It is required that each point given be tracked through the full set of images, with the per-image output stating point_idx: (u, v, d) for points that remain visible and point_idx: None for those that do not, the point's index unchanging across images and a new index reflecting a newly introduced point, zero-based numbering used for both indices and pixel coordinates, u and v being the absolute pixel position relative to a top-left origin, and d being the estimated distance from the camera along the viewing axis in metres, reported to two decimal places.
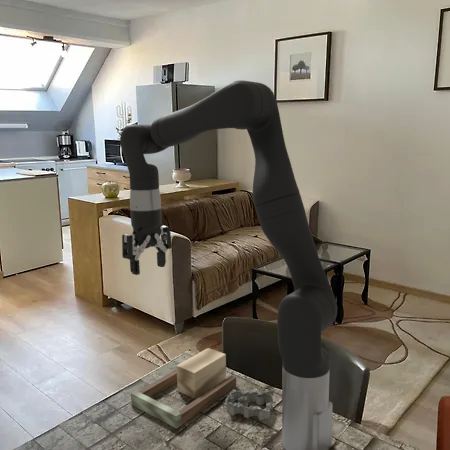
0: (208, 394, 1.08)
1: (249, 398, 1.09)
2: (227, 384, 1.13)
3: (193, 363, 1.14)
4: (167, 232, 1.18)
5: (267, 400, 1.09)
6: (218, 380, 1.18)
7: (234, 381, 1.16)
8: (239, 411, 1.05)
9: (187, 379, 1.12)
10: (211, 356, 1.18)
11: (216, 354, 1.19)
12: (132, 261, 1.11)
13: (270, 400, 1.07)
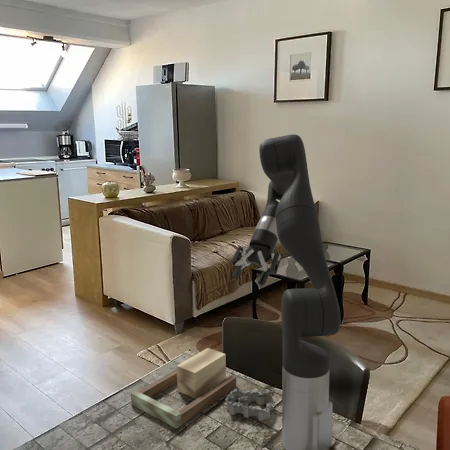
0: (208, 394, 1.08)
1: (250, 398, 1.09)
2: (227, 384, 1.13)
3: (193, 363, 1.14)
4: (274, 256, 1.30)
5: (268, 400, 1.09)
6: (218, 380, 1.18)
7: (234, 381, 1.16)
8: (239, 411, 1.05)
9: (188, 379, 1.12)
10: (210, 356, 1.18)
11: (216, 354, 1.19)
12: None
13: (271, 401, 1.07)
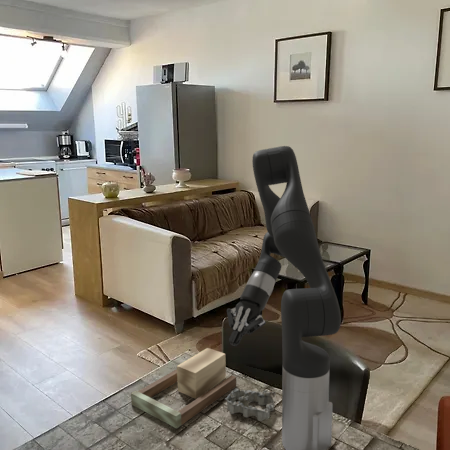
0: (208, 394, 1.08)
1: (251, 398, 1.09)
2: (227, 384, 1.13)
3: (193, 363, 1.14)
4: (257, 319, 1.26)
5: (269, 401, 1.08)
6: (218, 380, 1.18)
7: (234, 381, 1.16)
8: (239, 410, 1.05)
9: (188, 379, 1.12)
10: (210, 356, 1.18)
11: (216, 354, 1.19)
12: None
13: (271, 401, 1.07)
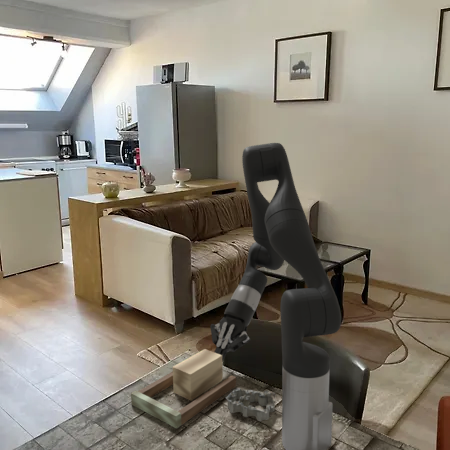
0: (208, 394, 1.08)
1: (252, 398, 1.09)
2: (227, 384, 1.13)
3: (189, 364, 1.14)
4: (241, 336, 1.21)
5: (270, 402, 1.08)
6: (214, 381, 1.17)
7: (234, 381, 1.16)
8: (239, 410, 1.06)
9: (183, 381, 1.11)
10: (207, 357, 1.17)
11: (212, 355, 1.18)
12: None
13: (272, 402, 1.07)
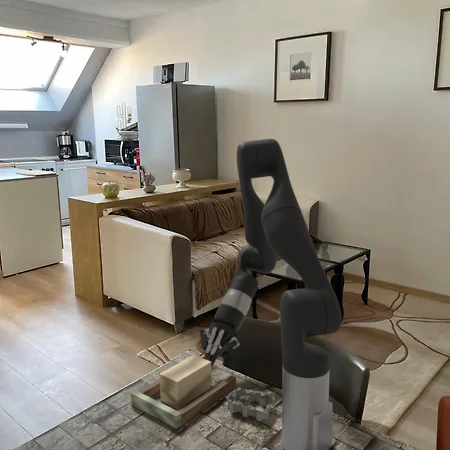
0: (208, 394, 1.08)
1: (253, 398, 1.09)
2: (227, 384, 1.13)
3: (176, 371, 1.10)
4: (230, 342, 1.17)
5: (270, 402, 1.08)
6: (203, 389, 1.14)
7: (234, 381, 1.16)
8: (239, 409, 1.06)
9: (170, 388, 1.08)
10: (195, 364, 1.14)
11: (201, 362, 1.15)
12: None
13: (272, 402, 1.07)
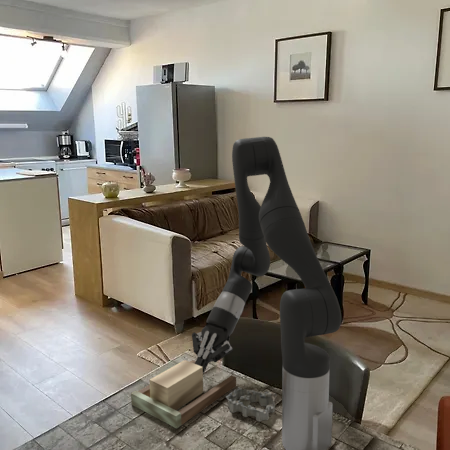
0: (208, 394, 1.08)
1: (253, 398, 1.09)
2: (227, 384, 1.13)
3: (167, 377, 1.08)
4: (223, 346, 1.15)
5: (271, 402, 1.08)
6: (194, 394, 1.11)
7: (234, 381, 1.16)
8: (239, 409, 1.06)
9: (161, 394, 1.05)
10: (186, 369, 1.12)
11: (192, 367, 1.12)
12: None
13: (272, 403, 1.06)
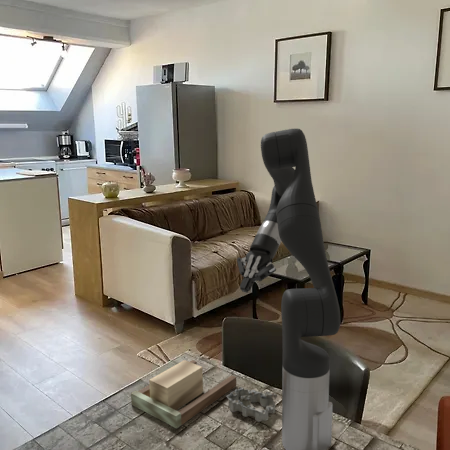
0: (208, 394, 1.08)
1: (254, 398, 1.09)
2: (227, 384, 1.13)
3: (167, 377, 1.08)
4: (267, 266, 1.27)
5: (271, 403, 1.07)
6: (194, 394, 1.11)
7: (234, 381, 1.16)
8: (239, 409, 1.06)
9: (160, 394, 1.05)
10: (186, 369, 1.12)
11: (192, 367, 1.12)
12: None
13: None
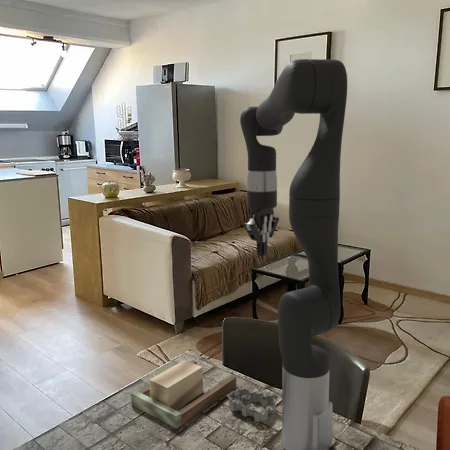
0: (208, 394, 1.08)
1: (255, 398, 1.09)
2: (227, 384, 1.13)
3: (167, 377, 1.08)
4: (275, 221, 1.20)
5: (272, 404, 1.07)
6: (194, 394, 1.11)
7: (234, 381, 1.16)
8: (239, 408, 1.06)
9: (161, 394, 1.05)
10: (186, 369, 1.12)
11: (192, 367, 1.12)
12: (259, 243, 1.16)
13: None
